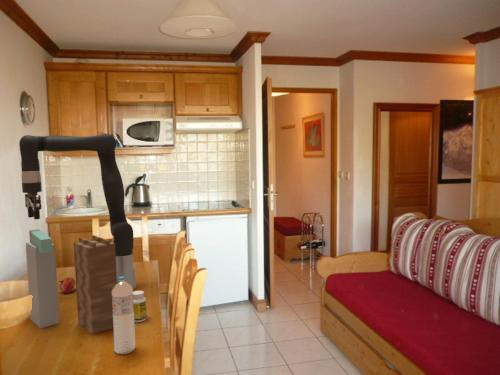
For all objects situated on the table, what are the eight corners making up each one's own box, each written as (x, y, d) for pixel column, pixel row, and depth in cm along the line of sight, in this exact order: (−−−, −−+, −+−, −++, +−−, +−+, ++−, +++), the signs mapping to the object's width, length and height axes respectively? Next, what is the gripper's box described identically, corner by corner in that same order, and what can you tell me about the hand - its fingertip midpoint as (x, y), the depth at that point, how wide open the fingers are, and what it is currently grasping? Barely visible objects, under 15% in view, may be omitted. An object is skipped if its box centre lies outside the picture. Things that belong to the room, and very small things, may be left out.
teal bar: (30, 242, 168) (29, 230, 168) (39, 241, 171) (39, 229, 170) (41, 253, 149) (40, 239, 149) (52, 251, 151) (51, 238, 151)
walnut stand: (78, 323, 160) (73, 238, 157) (103, 316, 167) (99, 234, 164) (93, 334, 150) (88, 244, 147) (119, 326, 157) (114, 239, 154)
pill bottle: (142, 323, 159) (141, 295, 158) (127, 322, 160) (126, 294, 159) (149, 317, 165) (148, 290, 164) (135, 316, 166) (134, 289, 166)
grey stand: (30, 319, 165) (25, 242, 162) (49, 314, 170) (44, 240, 167) (40, 328, 156) (35, 247, 154) (59, 323, 161) (54, 244, 158)
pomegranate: (71, 293, 202) (53, 284, 197) (80, 280, 204) (62, 271, 198) (74, 299, 196) (55, 290, 191) (83, 286, 197) (65, 277, 192)
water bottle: (117, 345, 141) (113, 274, 139) (137, 344, 141) (134, 273, 139) (112, 355, 134) (108, 280, 132) (133, 354, 135) (130, 279, 132)
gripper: (46, 181, 177) (48, 218, 178) (35, 180, 187) (38, 215, 189) (26, 182, 172) (29, 221, 173) (17, 181, 182) (20, 217, 184)
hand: (34, 218), depth 181 cm, fingers open, 8 cm apart
